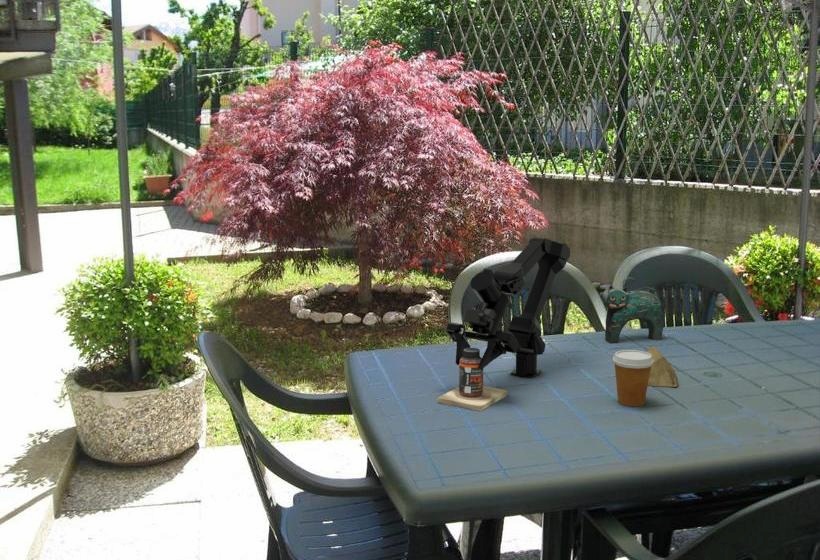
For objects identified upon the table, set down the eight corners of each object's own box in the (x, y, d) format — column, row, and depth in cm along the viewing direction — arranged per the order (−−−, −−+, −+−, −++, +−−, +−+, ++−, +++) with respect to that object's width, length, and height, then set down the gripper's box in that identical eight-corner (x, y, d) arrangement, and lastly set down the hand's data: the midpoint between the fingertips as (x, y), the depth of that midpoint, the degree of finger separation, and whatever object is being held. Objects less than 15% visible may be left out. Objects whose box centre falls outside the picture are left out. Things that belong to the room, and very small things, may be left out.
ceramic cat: (606, 344, 263) (608, 280, 260) (597, 339, 270) (599, 276, 266) (666, 340, 267) (669, 277, 264) (656, 335, 274) (659, 273, 270)
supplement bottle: (471, 399, 210) (472, 353, 208) (454, 394, 214) (454, 349, 212) (488, 394, 214) (488, 349, 212) (470, 389, 218) (470, 345, 216)
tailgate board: (467, 386, 225) (467, 381, 224) (509, 393, 218) (509, 388, 218) (437, 402, 212) (437, 397, 212) (480, 411, 206) (480, 405, 206)
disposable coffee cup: (629, 411, 205) (631, 362, 203) (603, 399, 213) (604, 352, 211) (660, 404, 209) (662, 356, 207) (632, 393, 218) (634, 347, 215)
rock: (689, 377, 224) (660, 363, 231) (680, 356, 219) (651, 343, 227) (664, 405, 221) (635, 390, 229) (654, 385, 216) (626, 371, 224)
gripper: (448, 291, 218) (423, 343, 211) (513, 300, 207) (488, 355, 200) (466, 315, 225) (441, 366, 219) (529, 325, 214) (505, 379, 208)
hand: (468, 366), depth 211 cm, fingers open, 6 cm apart
